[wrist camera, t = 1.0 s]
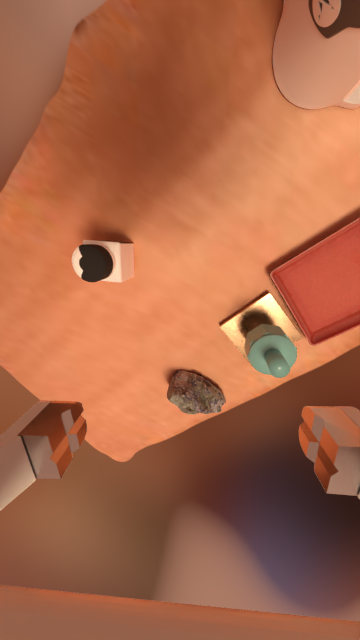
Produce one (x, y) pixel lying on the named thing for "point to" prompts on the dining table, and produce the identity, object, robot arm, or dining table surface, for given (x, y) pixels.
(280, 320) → the post
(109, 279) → the medicine bottle
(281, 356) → the cap
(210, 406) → the mineral rock
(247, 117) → the dining table surface
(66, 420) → the robot arm
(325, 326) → the plant saucer
